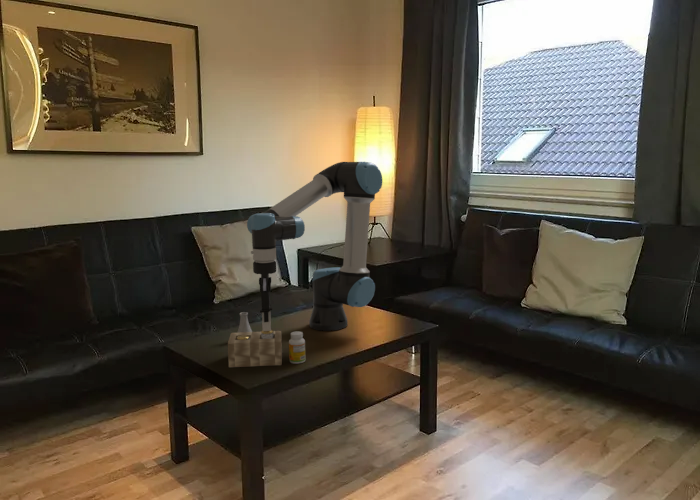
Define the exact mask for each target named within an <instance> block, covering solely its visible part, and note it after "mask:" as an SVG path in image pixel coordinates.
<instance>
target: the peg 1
mask: <svg viewBox="0 0 700 500" xmlns="http://www.w3.org/2000/svg"><path fill="white" fill-rule="evenodd" d="M237 340H249V336H247V335H242V336H238V337H237Z"/></svg>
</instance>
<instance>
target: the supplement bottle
mask: <svg viewBox="0 0 700 500" xmlns="http://www.w3.org/2000/svg"><path fill="white" fill-rule="evenodd" d="M303 336H304V333H303V331H296V330H295V331H292V332H290V339H288V357H289V360H288V361H289V363H291V364H296V365H297V364H302V363H304V362H306V361H307V360H306V357H307V356H306V340H305V339H304V338H303Z"/></svg>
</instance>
